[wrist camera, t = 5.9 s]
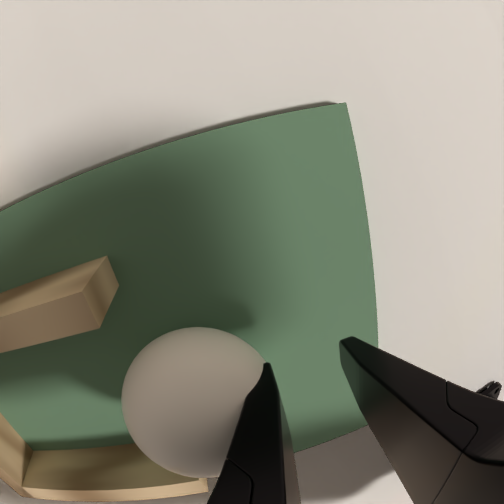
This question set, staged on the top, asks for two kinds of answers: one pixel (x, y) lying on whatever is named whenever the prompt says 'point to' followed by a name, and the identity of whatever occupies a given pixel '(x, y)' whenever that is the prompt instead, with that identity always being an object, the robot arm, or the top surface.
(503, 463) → the robot arm
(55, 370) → the putting mat
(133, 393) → the golf ball
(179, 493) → the u-shaped wooden rail
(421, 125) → the top surface
